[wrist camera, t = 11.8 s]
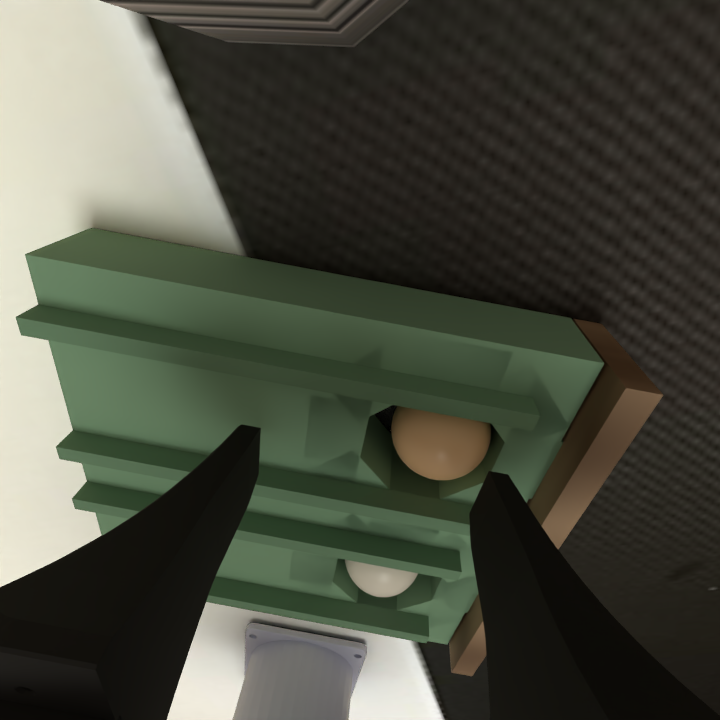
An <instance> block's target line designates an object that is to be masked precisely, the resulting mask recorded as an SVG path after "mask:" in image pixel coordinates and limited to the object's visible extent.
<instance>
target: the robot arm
mask: <svg viewBox="0 0 720 720" xmlns="http://www.w3.org/2000/svg"><path fill="white" fill-rule="evenodd" d="M260 434H261V428H259V427H253V426H248V425H243V424H241V425H240V426H238V427H237V428H236V429H235V430H234V431H233V432H232V433H231V434H230V435H229V436H228V437H227V438H226V439H225V440H224V441H223V442H222V443H221V444H220V445H219V446H218V447H217V448H216V449H215V450H214V451H213V452H212V453H211V454H210V455H209V456H208V457H207V458H206V459H205V460H203V461H202V462H201V463H200V464H199V465H198V466H197V467H196V468H195V469H194V470H192V471H191V472H190V473H189V474H188V475H186V476H185V477H184V478H183V479H182V480H180V481H179V482H178V483H177V484H176V485H174V486H173V487H172V488H171V489H169V490H168V491H167V492H166V493H164V494H163V495H162V496H160V497H159V498H158V499H156V500H155V501H154V502H152V503H151V504H149V505H148V506H147V507H145V508H144V509H142V510H141V511H140V512H138V513H137V514H135V515H134V516H132V517H131V518H129V519H127V520H126V521H124V522H123V523H121V524H120V525H118V526H117V527H115V528H114V529H112V530H110V531H109V532H107V533H105V534H104V535H102V536H100V537H99V538H97V539H95V540H93V541H92V542H90V543H88V544H86V545H84V546H82V547H81V548H79V549H77V550H75V551H73V552H72V553H70V554H68V555H66V556H64V557H63V558H61V559H59V560H57V561H55V562H53V563H51V564H49V565H47V566H45V567H43V568H40V569H38V570H36V571H34V572H32V573H30V574H28V575H26V576H24V577H22V578H19V579H17V580H15V581H13V582H11V583H9V584H6V585H4V586H2V587H0V720H167V716H168V713H169V710H170V707H171V704H172V701H173V697H174V694H175V691H176V688H177V685H178V682H179V679H180V676H181V673H182V670H183V667H184V664H185V661H186V658H187V655H188V652H189V649H190V646H191V643H192V640H193V637H194V635H195V632H196V629H197V626H198V623H199V620H200V617H201V614H202V612H203V609H204V606H205V603H206V600H207V598H208V595H209V592H210V589H211V586H212V584H213V582H214V579H215V577H216V574H217V572H218V570H219V567H220V565H221V563H222V561H223V559H224V557H225V555H226V552H227V550H228V548H229V546H230V544H231V542H232V539H233V537H234V535H235V533H236V531H237V529H238V527H239V524H240V522H241V520H242V518H243V516H244V513H245V511H246V509H247V507H248V505H249V502H250V499H251V496H252V493H253V490H254V487H255V484H256V481H257V478H258V475H259V458H260ZM469 519H470V542H471V551H472V557H473V564H474V570H475V576H476V582H477V587H478V593H479V599H480V605H481V611H482V617H483V624H484V631H485V640H486V654H487V667H488V684H489V702H490V720H720V716H719V715H718V714H717V713H716V712H714V711H713V710H712V709H711V708H710V707H709V706H707V705H706V704H705V703H704V702H703V701H702V700H700V699H699V698H698V697H697V696H696V695H694V694H693V693H692V692H691V691H690V690H689V689H687V688H686V687H685V686H684V685H683V684H682V683H681V682H679V681H678V680H677V679H676V678H675V677H674V676H673V675H672V674H671V673H670V672H669V671H668V670H666V669H665V668H664V667H663V666H662V665H661V664H660V663H659V662H658V661H657V660H656V659H655V658H654V657H653V656H651V655H650V654H649V653H648V652H647V651H646V650H645V649H644V648H643V647H642V646H641V645H640V644H639V643H638V642H637V641H636V640H635V639H634V638H633V637H632V636H631V635H630V634H629V633H628V631H627V630H626V629H625V628H624V627H623V626H622V625H621V624H620V623H619V622H618V621H617V620H616V619H615V618H614V617H613V616H612V615H611V614H610V613H609V611H608V610H607V609H606V608H605V607H604V606H603V605H602V604H601V603H600V601H599V600H598V599H597V598H596V597H595V596H594V594H593V593H592V592H591V591H590V590H589V588H588V587H587V586H586V585H585V584H584V583H583V581H582V580H581V579H580V578H579V576H578V575H577V574H576V573H575V571H574V570H573V569H572V568H571V566H570V565H569V564H568V562H567V561H566V560H565V558H564V557H563V556H562V554H561V553H560V552H559V550H558V549H557V548H556V546H555V545H554V543H553V542H552V541H551V539H550V538H549V536H548V535H547V533H546V532H545V530H544V529H543V527H542V526H541V525H540V523H539V522H538V520H537V519H536V517H535V515H534V514H533V512H532V511H531V509H530V508H529V506H528V505H527V503H526V502H525V500H524V498H523V497H522V495H521V494H520V492H519V491H518V489H517V487H516V486H515V484H514V483H513V481H512V480H511V478H510V476H509V475H508V474H503V473H498V472H492V471H489V472H488V474H487V476H486V478H485V480H484V482H483V485H482V487H481V489H480V491H479V493H478V496H477V498H476V500H475V502H474V504H473V506H472V509H471V511H470V513H469ZM366 653H367V646H366V645H365V644H363V643H359V642H354V641H348V640H343V639H338V638H333V637H327V636H322V635H317V634H311V633H306V632H301V631H295V630H290V629H285V628H280V627H274V626H269V625H264V624H258V623H250V624H248V625H247V628H246V643H245V678H244V682H243V685H242V689H241V692H240V696H239V699H238V703H237V706H236V710H235V713H234V717H233V720H348V718H349V708H350V699H351V696H352V693H353V690H354V687H355V684H356V682H357V679H358V676H359V673H360V670H361V667H362V665H363V662H364V659H365V656H366Z"/></svg>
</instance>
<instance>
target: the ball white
mask: <svg viewBox="0 0 720 720" xmlns="http://www.w3.org/2000/svg"><path fill="white" fill-rule="evenodd" d="M345 564H346V568H347V571H348V573H349V575H350V577H351V579H352V580H353V582H354V583H355V584H356V585H357V586H358V587H359V588H360V589H361V590H363V591H364V592H366V593H368V594H370V595H372V596H376V597H391V596H395V595H398V594H400V593H402V592H403V591H405V590H406V589H407V588H408V587H409V586H410V585H411V584H412V583H413V582H414V580H415V578H416V577H417V575H418V573H414V572H408V571H403V570H398V569H392V568H387V567H382V566H376V565H371V564H366V563H360V562H355V561H350V560H345Z"/></svg>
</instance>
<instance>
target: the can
mask: <svg viewBox="0 0 720 720" xmlns="http://www.w3.org/2000/svg"><path fill="white" fill-rule="evenodd" d="M100 1H104V2H107V3H110V4H113V5H116V6H119V7H122V8H125V9H128V10H131V11H134V12H137V13H140V14H143V15H146V16H150V17H153V18H156V19H159V20H162V21H165V22H168V23H171V24H174V25H177V26H180V27H183V28H186V29H189V30H193V31H196V32H199V33H202V34H205V35H208V36H211V37H214V38H217V39H220V40H223V41H226V42H234V43H259V44H284V45H309V46H334V47H355V46H356V45H358V44H359V43H360V42H361V41H362V40H364V39H365V38H366V37H367V36H368V35H369V34H371V33H372V32H373V31H374V30H375V29H377V28H378V27H379V26H380V25H381V24H382V23H384V22H385V21H386V20H387V19H388V18H390V17H391V16H392V15H393V14H394V13H395V12H397V11H398V10H399V9H400V8H401V7H403V6H404V5H405V4H406V3H407V2H408V1H410V0H100Z"/></svg>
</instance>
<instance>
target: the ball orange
mask: <svg viewBox="0 0 720 720" xmlns="http://www.w3.org/2000/svg"><path fill="white" fill-rule="evenodd" d="M391 433H392V440H393V444H394V447H395V449H396V451H397V453H398V455H399V457H400V458H401V460H402V461H403V462H404V463H405V464H406V465H407V466H408V467H409V468H410V469H411V470H413V471H414V472H415V473H417V474H419V475H421V476H423V477H426V478H429V479H434V480H452V479H456V478H459V477H462V476H464V475H466V474H468V473H469V472H471V471H472V470H474V469H475V468H476V467H477V466H478V465H479V464H480V463H481V461H482V460H483V458H484V457H485V455H486V453H487V451H488V448H489V444H490V440H491V426H490V423H486V422H481V421H475V420H470V419H465V418H459V417H454V416H449V415H443V414H438V413H433V412H427V411H422V410H417V409H412V408H406V407H401V406H397V407H396V409H395V412H394V415H393V419H392V425H391Z"/></svg>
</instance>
